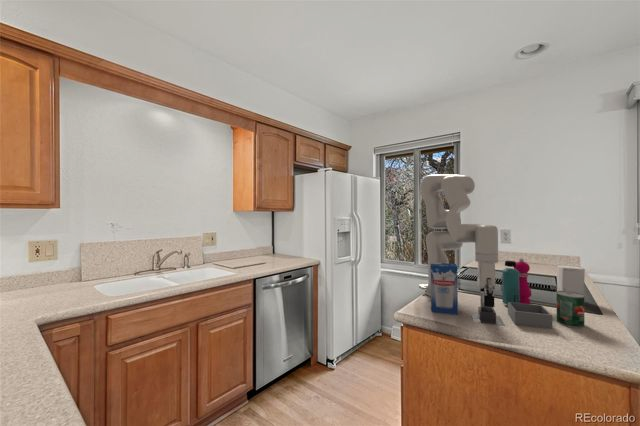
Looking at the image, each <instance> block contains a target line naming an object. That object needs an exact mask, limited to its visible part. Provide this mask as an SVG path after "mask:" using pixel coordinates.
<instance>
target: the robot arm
mask: <svg viewBox="0 0 640 426" xmlns="http://www.w3.org/2000/svg"><path fill="white" fill-rule="evenodd" d="M475 185H476V184H475V181H474V179H473V178H472V177H471V176H468V175H461V174H449V173H448V174H447V173H446V174H445V173H443V174H441V173H440V174H439V173H438V174H437V173H436V174H435V173H433V174H429V175H426V176H424V177H423V179H422V181H421V187H420V188H421V190H420V191H421V194H422V197H423V200H424V205H425V213H426V214H425V215H426V222H427V226H428V227H429V228H430V229H435V231H431V232H429V233H427V235H425V236H426V237H425V244H426V248H427V249H426V251H427V266H428V267H427V273H428V274H427V276H428V277H427V280H428V281H427V284H418V289H421V290H424V293H425V295H427V296H429V297H431V263H449V257H448V255H447V254H446V253H445V251H455V250H460V249H461V248H462V247H463V245H464V243H475V244H474V249H475V251H474V254H475V256H474V258H475V262H477V279H476V281H477V282H476V283H477V285H478V287H479V289H480V290H479V292H481V291H485V295H484V306H485V307H493V308H495V293H494V290H495V289H496V264H498V263H499V231H498V230H499V229H498V227H497V226H496V225H492V224H491V225H490V224H487V225H486V224H483V223H462V219H461V216H460V214H459V213H462V212H463V211H465V210H467V209H468V208H469V207H470V205H471V200H470V198H469V196H468V195H469V194H471V193H473V192H474V190H475V189H476V188H475V187H476V186H475ZM438 192H442V193H443V196H444V197H445V201H446V202H447V205H448V206H449V209H445V207H444V201H443V199H442V197H441V196H440V194H439V193H438ZM436 229H439V230H438V231H436ZM440 229H446V230H444V231H443V230H440ZM449 264H450V263H449Z"/></svg>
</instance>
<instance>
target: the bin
mask: <svg viewBox="0 0 640 426" xmlns="http://www.w3.org/2000/svg"><path fill="white" fill-rule="evenodd" d="M507 315H508V316H509V318H510V320H511V321H512V322H513V324H514V325H515V326H522V327H532V328H540V329H541V328H542V329H548V330H550V329H551V330H553V314H552V313H551V312H550V311H549V310H547V308H545V307H544V306H543V305H542V304H533V303H530V304H523V303H513V302H508V305H507Z"/></svg>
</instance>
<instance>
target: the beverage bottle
mask: <svg viewBox="0 0 640 426" xmlns="http://www.w3.org/2000/svg"><path fill="white" fill-rule="evenodd" d="M504 266H505V267H504V268H503V269H502V270H501V273H502V274H501V275H502V277H501V279H502V281H501V283H502V284H501V290H502V291H501V294H502V296H501V298H502V303H503V304H504V305H507V306H508V302H513V303H520V291H519V282H520V280H519V271H518V270H516V269H514V267H516V261H515V260H505V261H504Z"/></svg>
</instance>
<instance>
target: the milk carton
mask: <svg viewBox="0 0 640 426" xmlns="http://www.w3.org/2000/svg"><path fill="white" fill-rule="evenodd" d="M458 297H459V296H458V265H457V263H431V296H430V309H431V310H430V311H431V313H437V314H438V313H439V314H445V315H446V314H448V315H458V314H459V313H458V312H459V311H458V310H459V308H458V307H459V305H458V304H459V303H458V302H459V301H458V299H459V298H458Z"/></svg>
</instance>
